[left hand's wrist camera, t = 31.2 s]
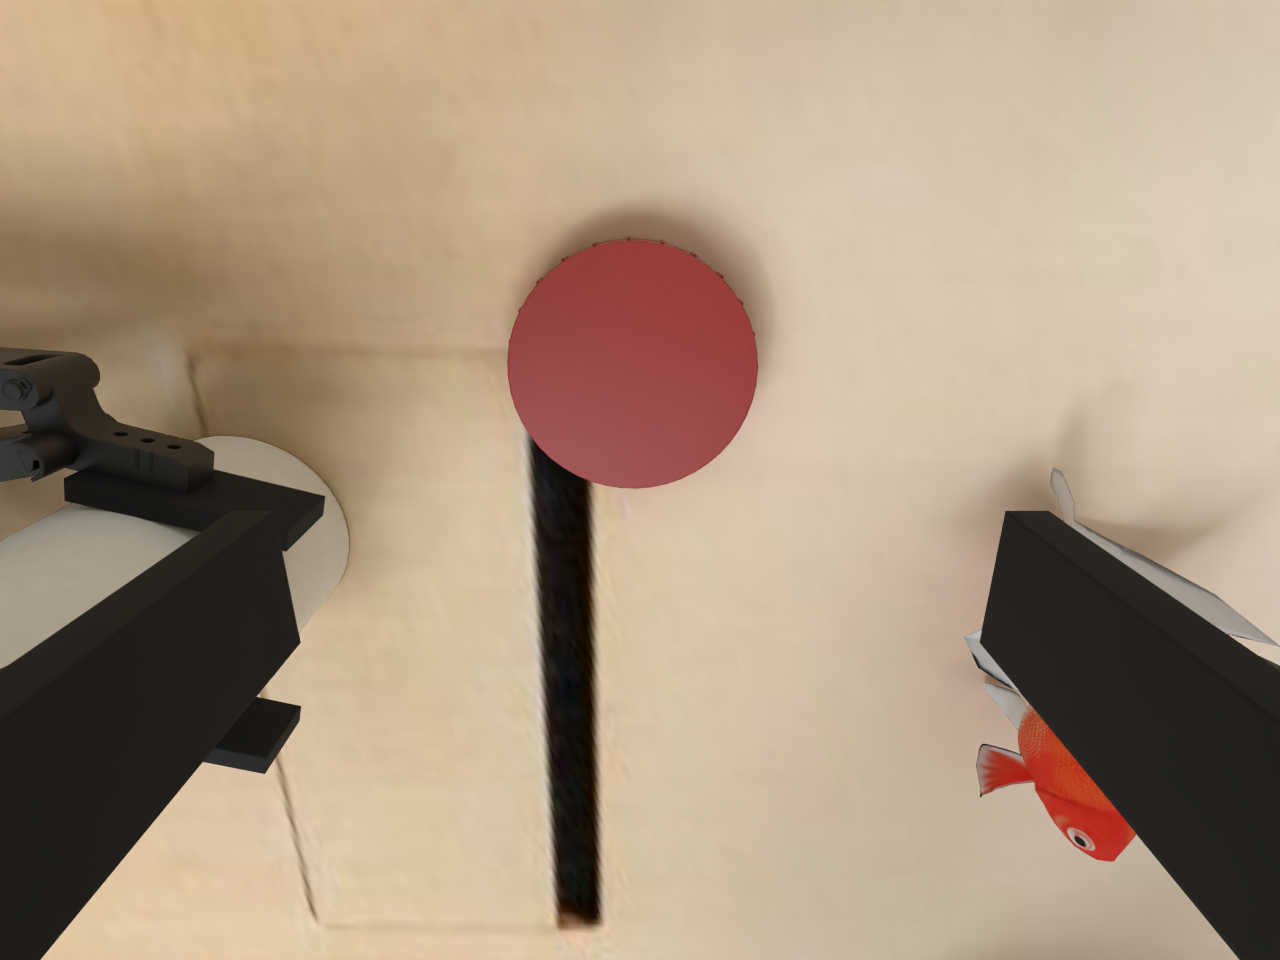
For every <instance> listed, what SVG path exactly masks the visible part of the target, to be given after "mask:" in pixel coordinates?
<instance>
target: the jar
mask: <svg viewBox="0 0 1280 960" xmlns="http://www.w3.org/2000/svg"><path fill="white" fill-rule="evenodd" d="M194 441H195V442H199V443H201V444H202V445H204V446H206V447H207V448H209V449H210V450H212V451H214V452H215V453H214V469H215V470H219V471H223V472H228V473H232V474H236V475H240V476H244V477H248V478H253V479H257V480H261V481H265V482H269V483H273V484H278V485H282V486H286V487H290V488H294V489H298V490H303V491H307V492H311V493H315V494H319V495H323V496H325V504H324V513H323V516H322V517H321V518H320V519H319V520H318V521H317V522H316V523H315V524H314V525H313V526H312V527H311V528H310V529H309V530H308V531H307V532H306V533H305V534H304V535H303V536H302V537H301V538H300V539H299V540H298V541H297V542H296V543H295V544H294V545H293V546H292V547H291V548H290V549H289V550H288V551H287V552H285V551H282V552H283V557H284V562H285V567H286V572H287V577H288V582H289V587H290V592H291V597H292V602H293V607H294V612H295V617H296V622H297V627H298V632H299V633H300V631H301V630H302V629H303V628H304V626H305V625H306V624H307V622H308V621H309V620H310V619H311V617H312V616H313V615H314V614H315V612H316V611H317V610H318V609H319V607H320V606H321V605H322V603H323V602H324V601H325V600H326V598H327V597H328V596H329V595H330V593H331V592H332V591H333V590H334V588H335V587H336V585H337V584H338V582H339V581H340V579H341V577H342V575H343V573H344V571H345V568H346V564H347V560H348V554H349V535H348V530H347V524H346V521H345V518H344V515H343V512H342V510H341V508H340V506H339V504H338V502H337V500H336V498H335V497H334V495H333V494H332V492H331V491H330V489H329V488H328V487H327V485H326V484H325V483H324V482H323V481H322V479H321V478H320V477H319V476H318V475H317V474H316V473H315V472H314V471H313V470H311V469H310V468H309V467H308V466H307V465H305V464H304V463H303V462H301V461H300V460H299V459H297V458H296V457H294V456H292V455H291V454H289V453H287V452H286V451H284V450H281V449H279V448H277V447H275V446H273V445H270V444H267V443H264V442H261V441H258V440H254V439H249V438H245V437H236V436H213V437H206V438H201V439H198V440H194ZM199 533H200V532H198V531H193V530H189V529H185V528H180V527H176V526H172V525H167V524H163V523H159V522H154V521H150V520H146V519H141V518H137V517H133V516H128V515H124V514H119V513H115V512H111V511H106V510H102V509H98V508H93V507H89V506H85V505H80V504H76V503H71V504H69V505H67V506H65V507H63V508H61V509H59V510H58V511H56V512H54V513H52V514H50V515H48V516H46V517H44V518H42V519H40V520H39V521H37V522H35V523H33V524H31V525H29V526H27V527H25V528H23V529H21V530H19V531H18V532H16V533H14V534H12V535H10V536H8V537H6V538H4V539H2V540H0V669H1V668H3V667H5V666H7V665H9V664H11V663H12V662H14V661H15V660H16V659H18V658H19V657H21V656H22V655H24V654H25V653H27V652H28V651H29V650H31V649H32V648H34V647H35V646H37V645H38V644H40V643H41V642H43V641H44V640H45V639H47V638H48V637H50V636H51V635H53V634H54V633H56V632H57V631H58V630H60V629H61V628H63V627H64V626H66V625H67V624H69V623H70V622H71V621H73V620H74V619H76V618H77V617H79V616H80V615H82V614H83V613H85V612H86V611H87V610H89V609H90V608H92V607H93V606H95V605H96V604H98V603H99V602H100V601H102V600H103V599H105V598H106V597H108V596H109V595H111V594H112V593H113V592H115V591H116V590H118V589H119V588H121V587H122V586H124V585H125V584H127V583H128V582H129V581H131V580H132V579H134V578H135V577H137V576H138V575H140V574H141V573H142V572H144V571H145V570H147V569H148V568H150V567H151V566H153V565H154V564H156V563H157V562H158V561H160V560H161V559H163V558H164V557H166V556H167V555H169V554H170V553H171V552H173V551H174V550H176V549H177V548H179V547H180V546H182V545H183V544H184V543H186V542H187V541H189V540H190V539H192V538H193V537H195V536H196V535H198V534H199ZM59 937H60V936H59Z"/></svg>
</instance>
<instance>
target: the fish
mask: <svg viewBox="0 0 1280 960" xmlns="http://www.w3.org/2000/svg"><path fill="white" fill-rule="evenodd" d="M1050 485H1051V487H1052V489H1053V491H1054V493H1055V495H1056V498H1057V500H1058V503H1059V505H1060V509H1061V512H1062V516H1063V519H1064V522H1065V523H1067V524H1068V525H1069V526H1071V527H1072V528H1074V529H1075V530H1077V531H1078V532H1080V533H1081V534H1082V535H1084V536H1085V537H1087V538H1088V539H1090V540H1091V541H1093V542H1094V543H1096V544H1097V545H1098V546H1100V547H1101V548H1103V549H1104V550H1106V551H1107V552H1109V553H1110V554H1111V555H1113V556H1114V557H1116V558H1117V559H1119V560H1120V561H1122V562H1123V563H1124V564H1126V565H1127V566H1129V567H1130V568H1132V569H1133V570H1135V571H1136V572H1138V573H1139V574H1140V575H1142V576H1143V577H1145V578H1146V579H1148V580H1149V581H1151V582H1152V583H1153V584H1155V585H1156V586H1158V587H1159V588H1161V589H1162V590H1164V591H1165V592H1166V593H1168V594H1169V595H1171V596H1172V597H1174V598H1175V599H1177V600H1178V601H1180V602H1181V603H1182V604H1184V605H1185V606H1187V607H1188V608H1190V609H1191V610H1193V611H1194V612H1195V613H1197V614H1198V615H1200V616H1201V617H1203V618H1204V619H1206V620H1207V621H1209V622H1210V623H1211V624H1213V625H1214V626H1216V627H1217V628H1219V629H1220V630H1222V631H1223V632H1224V633H1226V634H1227V635H1233V636H1237V637H1241V638H1245V639H1250V640H1254V641H1258V642H1262V643H1266V644H1271V645H1275V646H1279V645H1278V644H1277V643H1275V642H1274V641H1273V640H1272V639H1270V638H1269V637H1268V636H1267V635H1265V634H1264V633H1263V632H1262V631H1260V630H1259V629H1258V628H1257V627H1255V626H1254V625H1253V624H1251V623H1250V622H1249V621H1248V620H1246V619H1245V618H1244V617H1243V616H1241V615H1240V614H1239V613H1238V612H1236V611H1235V610H1234V609H1233V608H1231V607H1230V606H1229V605H1228V604H1226V603H1225V602H1224V601H1223V600H1221V599H1220V598H1219V597H1217V596H1216V595H1215V594H1213V593H1211V592H1209V591H1208V590H1206V589H1204V588H1202V587H1200V586H1198V585H1196V584H1195V583H1193V582H1191V581H1189V580H1187V579H1185V578H1183V577H1182V576H1180V575H1178V574H1176V573H1174V572H1172V571H1171V570H1169V569H1167V568H1165V567H1163V566H1161V565H1159V564H1158V563H1156V562H1154V561H1152V560H1150V559H1148V558H1147V557H1145V556H1143V555H1141V554H1138V553H1136V552H1134V551H1132V550H1130V549H1128V548H1126V547H1124V546H1122V545H1120V544H1118V543H1116V542H1114V541H1112V540H1110V539H1108V538H1106V537H1104V536H1102V535H1100V534H1098V533H1096V532H1095V531H1093V530H1091V529H1089V528H1088V527H1086V526H1084V525H1082V524H1081V523H1079V522H1077V521H1075V520H1074V501H1073V498H1072V495H1071V493H1070V490H1069V487H1068V485H1067V482H1066V480H1065V478H1064V476H1063V474H1062V472H1061V471H1059V470H1058V469H1056V468H1054V467H1053V470H1052V473H1051V483H1050ZM981 632H982V630H979V631H977V632H974V633H971V634H969V635H966V636H964V638H965V640H966V642H967V644H968V647H969V649H970V651H971V653H972V655H973V657H974V660H975V662H976V664H977V666H978V668H980V669H981V670H983V671H984V672H986V673H987V674H989V675H991V676H992V677H994V678H995V679H997V680H998V681H1000V682H1002V683H1003V684H1005V685H1006V686H1008V687H1009V688H1012V689H1014V690H1017V691H1019V690H1018V689H1017V688H1016V687H1015V685H1014V684H1013V683H1012V682H1011V680H1010V679H1009V678H1008V677H1007V676H1006V674H1005V673H1004V672H1003V671H1002V670H1001V668H1000V667H999V666H998V665H997V663H996V662H995V661H994V660H993V659H992V657H991V656H990V655H989V654H988V652H987V651H986V650H985V649H984V648H983V646H982V645H981V644H980V643H979V642H980V637H981ZM1279 647H1280V646H1279ZM984 689H985V690H986V692H987V693H988V694H989V695H990V697H991V698H992V699H993V700H994V701H995V702H996V703H997V704H998V705H999V706H1000V708H1001V709H1002V710H1003V712H1004V713H1005V715H1006V716H1007V718H1008V719H1009V720H1010V722H1011V723H1012V724H1013V725H1014V726H1015V727H1016V728H1017V729H1018V745H1019V750H1020V753H1021V754H1018V753H1015V752H1013V751H1010V750H1007V749H1003V748H999V747H996V746H992V745H988V744H982V745H981V746H980V749H979V754H978V759H977V765H976V767H977V773H978V778H979V783H980V797H981V796H982V795H984V794H987V793H990V792H992V791H993V790H995V789H998V788H1002V787H1005V786H1008V785H1011V784H1020V783H1029V782H1034V783H1035V790H1036V792H1037V794H1038V796H1039V797H1040V799H1041V800H1042V802H1043V804H1044V806H1045V807H1046V809H1047V811H1048V813H1049V815H1050V816H1051V818H1052V819H1053V821H1054V823H1055V824H1056V825H1057V827H1058V828H1059V829H1060V831H1061V832H1062V833H1063V835H1064V836H1065V837H1066V838H1067V839H1068V840H1069V841H1070V842H1071V843H1072V844H1073V845H1074V846H1076V847H1077V848H1078V849H1080V850H1081V851H1083V852H1085V853H1086V854H1088V855H1090V856H1091V857H1093V858H1095V859H1097V860H1103V861H1115V859H1116V858H1117V856H1118V855H1119V854H1120V853H1121V852H1122V851H1123V850H1124V849H1125V848H1126V846H1127V845H1128V844H1129V843H1130V842H1131V840H1132V839H1133V838H1134V837H1135V835H1136V833H1135V832H1134V830H1133V829H1132V828H1131V827H1130V825H1129V824H1128V823H1127V822H1126V821H1125V819H1124V818H1123V817H1122V816H1121V815H1120V813H1119V812H1118V811H1117V810H1116V808H1115V807H1114V806H1113V805H1112V804H1111V802H1110V801H1109V800H1108V799H1107V797H1106V796H1105V795H1104V794H1103V793H1102V791H1101V790H1100V789H1099V788H1098V786H1097V785H1096V784H1095V783H1094V782H1093V780H1092V779H1091V778H1090V777H1089V776H1088V774H1087V773H1086V772H1085V771H1084V769H1083V768H1082V767H1081V766H1080V765H1079V763H1078V762H1077V761H1076V760H1075V758H1074V757H1073V756H1072V755H1071V754H1070V752H1069V751H1068V750H1067V749H1066V748H1065V746H1064V745H1063V744H1062V743H1061V741H1060V740H1059V739H1058V738H1057V737H1056V735H1055V734H1054V733H1053V732H1052V730H1051V729H1050V728H1049V727H1048V726H1047V724H1046V723H1045V722H1044V721H1043V719H1042V718H1041V717H1040V716H1039V715H1038V713H1037V712H1036V711H1035V710H1034V709H1033V707H1032V706H1031V705H1030V706H1029V707H1028V708H1027V706H1026V704H1025V702H1024V700H1023V699H1022V698H1021V696H1020V695H1019V694H1017V693H1016V692H1014V691H1012V690H1009V689H1006V688H1003V687H999V686H996V685H993V684H989V683H985V684H984Z"/></svg>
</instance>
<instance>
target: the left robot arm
mask: <svg viewBox="0 0 1280 960" xmlns="http://www.w3.org/2000/svg"><path fill="white" fill-rule="evenodd" d="M300 643H301V642H300V637H299V632H298V627H297V622H296V617H295V612H294V607H293V602H292V597H291V592H290V587H289V582H288V577H287V572H286V567H285V562H284V557H283V552H282V547H281V542H280V537H279V532H278V527H277V522H276V517H275V512H274V511H231V512H229V513H228V514H226V515H225V516H224V517H222V518H221V519H219V520H218V521H216V522H215V523H213V524H212V525H211V526H209V527H208V528H206V529H205V530H203V531H202V532H200V533H199V534H198V535H196V536H195V537H193V538H192V539H190V540H189V541H187V542H186V543H184V544H183V545H182V546H180V547H179V548H177V549H176V550H174V551H173V552H171V553H170V554H169V555H167V556H166V557H164V558H163V559H161V560H160V561H158V562H157V563H156V564H154V565H153V566H151V567H150V568H148V569H147V570H145V571H144V572H142V573H141V574H140V575H138V576H137V577H135V578H134V579H132V580H131V581H129V582H128V583H127V584H125V585H124V586H122V587H121V588H119V589H118V590H116V591H115V592H113V593H112V594H111V595H109V596H108V597H106V598H105V599H103V600H102V601H100V602H99V603H98V604H96V605H95V606H93V607H92V608H90V609H89V610H87V611H86V612H85V613H83V614H82V615H80V616H79V617H77V618H76V619H74V620H73V621H71V622H70V623H69V624H67V625H66V626H64V627H63V628H61V629H60V630H58V631H57V632H56V633H54V634H53V635H51V636H50V637H48V638H47V639H45V640H44V641H43V642H41V643H40V644H38V645H37V646H35V647H34V648H32V649H31V650H29V651H28V652H27V653H25V654H24V655H22V656H21V657H19V658H18V659H16V660H15V661H14V662H12V663H11V664H9V665H7V666H5V667H3V668H1V669H0V960H41V958H42V957H43V956H44V955H45V953H46V952H47V951H48V950H49V949H50V947H51V946H52V945H53V944H54V942H55V941H56V940H57V939H58V938H59V936H60V935H61V934H62V933H63V931H64V930H65V929H66V928H67V927H68V925H69V924H70V923H71V922H72V921H73V919H74V918H75V917H76V916H77V914H78V913H79V912H80V911H81V910H82V908H83V907H84V906H85V905H86V903H87V902H88V901H89V900H90V899H91V897H92V896H93V895H94V894H95V892H96V891H97V890H98V889H99V888H100V886H101V885H102V884H103V883H104V882H105V880H106V879H107V878H108V877H109V875H110V874H111V873H112V872H113V871H114V869H115V868H116V867H117V866H118V864H119V863H120V862H121V861H122V860H123V858H124V857H125V856H126V855H127V854H128V852H129V851H130V850H131V849H132V847H133V846H134V845H135V844H136V843H137V841H138V840H139V839H140V838H141V836H142V835H143V834H144V833H145V832H146V830H147V829H148V828H149V827H150V825H151V824H152V823H153V822H154V821H155V819H156V818H157V817H158V816H159V815H160V813H161V812H162V811H163V810H164V808H165V807H166V806H167V805H168V804H169V802H170V801H171V800H172V799H173V797H174V796H175V795H176V794H177V793H178V791H179V790H180V789H181V788H182V786H183V785H184V784H185V783H186V782H187V780H188V779H189V778H190V777H191V776H192V774H193V773H194V772H195V771H196V769H197V768H198V767H199V766H200V765H201V763H202V762H203V761H204V760H205V758H206V757H207V756H208V755H209V754H210V752H211V751H212V750H213V749H214V748H215V746H216V745H217V744H218V743H219V741H220V740H221V739H222V738H223V737H224V735H225V734H226V733H227V732H228V730H229V729H230V728H231V727H232V726H233V724H234V723H235V722H236V721H237V719H238V718H239V717H240V716H241V715H242V713H243V712H244V711H245V710H246V709H247V707H248V706H249V705H250V704H251V702H252V701H253V700H254V699H255V698H256V696H257V695H258V694H259V693H260V691H261V690H262V689H263V688H264V687H265V685H266V684H267V683H268V682H269V680H270V679H271V678H272V677H273V676H274V674H275V673H276V672H277V671H278V670H279V668H280V667H281V666H282V665H283V663H284V662H285V661H286V660H287V659H288V657H289V656H290V655H291V654H292V652H293V651H294V650H295V649H296V648H297V646H298V645H299V644H300ZM979 643H980V644H981V645H982V646H983V648H984V649H985V650H986V651H987V652H988V654H989V655H990V656H991V657H992V659H993V660H994V661H995V662H996V663H997V665H998V666H999V667H1000V668H1001V670H1002V671H1003V672H1004V673H1005V674H1006V676H1007V677H1008V678H1009V679H1010V680H1011V682H1012V683H1013V684H1014V685H1015V687H1016V688H1017V689H1018V690H1019V691H1020V693H1021V694H1022V695H1023V696H1024V698H1025V699H1026V700H1027V701H1028V702H1029V704H1030V705H1031V706H1032V707H1033V709H1034V710H1035V711H1036V712H1037V713H1038V715H1039V716H1040V717H1041V718H1042V719H1043V721H1044V722H1045V723H1046V724H1047V726H1048V727H1049V728H1050V729H1051V730H1052V732H1053V733H1054V734H1055V735H1056V737H1057V738H1058V739H1059V740H1060V741H1061V743H1062V744H1063V745H1064V746H1065V748H1066V749H1067V750H1068V751H1069V752H1070V754H1071V755H1072V756H1073V757H1074V758H1075V760H1076V761H1077V762H1078V763H1079V765H1080V766H1081V767H1082V768H1083V769H1084V771H1085V772H1086V773H1087V774H1088V776H1089V777H1090V778H1091V779H1092V780H1093V782H1094V783H1095V784H1096V785H1097V786H1098V788H1099V789H1100V790H1101V791H1102V793H1103V794H1104V795H1105V796H1106V797H1107V799H1108V800H1109V801H1110V802H1111V804H1112V805H1113V806H1114V807H1115V808H1116V810H1117V811H1118V812H1119V813H1120V815H1121V816H1122V817H1123V818H1124V819H1125V821H1126V822H1127V823H1128V824H1129V825H1130V827H1131V828H1132V829H1133V830H1134V832H1135V833H1136V834H1137V835H1138V836H1139V838H1140V839H1141V840H1142V841H1143V843H1144V844H1145V845H1146V846H1147V847H1148V849H1149V850H1150V851H1151V852H1152V854H1153V855H1154V856H1155V857H1156V858H1157V860H1158V861H1159V862H1160V863H1161V864H1162V866H1163V867H1164V868H1165V869H1166V871H1167V872H1168V873H1169V874H1170V875H1171V877H1172V878H1173V879H1174V880H1175V882H1176V883H1177V884H1178V885H1179V886H1180V888H1181V889H1182V890H1183V891H1184V892H1185V894H1186V895H1187V896H1188V897H1189V899H1190V900H1191V901H1192V902H1193V903H1194V905H1195V906H1196V907H1197V908H1198V910H1199V911H1200V912H1201V913H1202V914H1203V916H1204V917H1205V918H1206V919H1207V921H1208V922H1209V923H1210V924H1211V925H1212V927H1213V928H1214V929H1215V930H1216V931H1217V933H1218V934H1219V935H1220V936H1221V938H1222V939H1223V940H1224V941H1225V942H1226V944H1227V945H1228V946H1229V947H1230V949H1231V950H1232V951H1233V952H1234V953H1235V955H1236V956H1237V957H1238V958H1239V960H1280V666H1279V665H1277V664H1275V663H1273V662H1271V661H1269V660H1266V659H1264V658H1262V657H1260V656H1258V655H1256V654H1255V653H1253V652H1252V651H1251V650H1249V649H1248V648H1246V647H1245V646H1243V645H1242V644H1240V643H1239V642H1237V641H1236V640H1235V639H1233V638H1232V637H1230V636H1229V635H1227V634H1226V633H1224V632H1223V631H1222V630H1220V629H1219V628H1217V627H1216V626H1214V625H1213V624H1211V623H1210V622H1209V621H1207V620H1206V619H1204V618H1203V617H1201V616H1200V615H1198V614H1197V613H1195V612H1194V611H1193V610H1191V609H1190V608H1188V607H1187V606H1185V605H1184V604H1182V603H1181V602H1180V601H1178V600H1177V599H1175V598H1174V597H1172V596H1171V595H1169V594H1168V593H1166V592H1165V591H1164V590H1162V589H1161V588H1159V587H1158V586H1156V585H1155V584H1153V583H1152V582H1151V581H1149V580H1148V579H1146V578H1145V577H1143V576H1142V575H1140V574H1139V573H1138V572H1136V571H1135V570H1133V569H1132V568H1130V567H1129V566H1127V565H1126V564H1124V563H1123V562H1122V561H1120V560H1119V559H1117V558H1116V557H1114V556H1113V555H1111V554H1110V553H1109V552H1107V551H1106V550H1104V549H1103V548H1101V547H1100V546H1098V545H1097V544H1096V543H1094V542H1093V541H1091V540H1090V539H1088V538H1087V537H1085V536H1084V535H1082V534H1081V533H1080V532H1078V531H1077V530H1075V529H1074V528H1072V527H1071V526H1069V525H1068V524H1067V523H1065V522H1064V521H1062V520H1061V519H1059V518H1058V517H1056V516H1055V515H1054V514H1052V513H1051V512H1049V511H1006V512H1005V517H1004V522H1003V527H1002V532H1001V537H1000V542H999V547H998V552H997V557H996V562H995V567H994V572H993V577H992V582H991V587H990V592H989V597H988V602H987V607H986V612H985V617H984V622H983V627H982V632H981V637H980V642H979Z"/></svg>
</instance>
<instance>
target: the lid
mask: <svg viewBox="0 0 1280 960" xmlns="http://www.w3.org/2000/svg"><path fill="white" fill-rule="evenodd" d="M696 256H697V255H695V254H694V253H693V252H691V253H690V254H689V253H687V252H685V251H683V250H681V249H679V248H677V247H674V246H671V245H668V244H665V242H664V241H663V240H660V242H657V241H651V240H646V239H630V236H627V239H621V240H612V241H608V242H604V243H600V244H598V242H595V243H594V244H593V246H591V247H589V248H586V249H583V250H581V251H579V252H578V253H576V254H574V255H572V256H571V257H569V258H568V256H566V257H564V258H563V259H562V263H561V264H559V265H558V266H557V267H555V268H554V269H553V270H551V271H550V272H549V273H548V274H547V275H546V276H545V277H544V278H543V277H542V278H541V279H539V280H538V281H537V282H536V283H537V285H536V287H535V288H534V289H533V291H532V292H531V293H530V295H529V296H528V297H527V299H526V301H525V302H524V304H523V306H522V307H521V308H520V309H519V310H518V312H519V314H518V316H517V319H516V321H515V324H514V327H513V330H512V334H511V338H510V340H509V350H508V379H509V385H510V391H511V395H512V398H513V402H514V405H515V408H516V410H517V412H518V415H519V417H520V419H521V421H522V423H523V425H524V426H525V428H526V430H527V431H528V433H529V434H530V436H531V437H532V438H533V440H534V441H535V442H536V443H537V445H538V446H539V447H540V448H541V449H542V450H543V451H544V452H545V453H546V454H547V455H548V456H549V457H550V458H551V459H552V460H554V461H555V462H557V463H558V464H559V465H561V466H562V467H563V468H565V469H567V470H568V471H570V472H572V473H574V474H575V475H577V476H579V477H582V478H584V479H587V480H589V481H592V482H595V483H599V484H602V485H606V486H612V487H619V488H647V487H654V486H659V485H664V484H668V483H671V482H674V481H676V480H679V479H682V478H684V477H686V476H688V475H690V474H692V473H694V472H696V471H698V470H699V469H701V468H702V467H704V466H705V465H707V464H708V463H709V462H711V461H712V460H713V459H714V458H715V457H716V456H718V455H719V454H720V453H721V452H722V451H723V450H724V449H725V447H726V446H727V445H728V444H729V443H730V442H731V441H732V439H733V438H734V436H735V435H736V434H737V432H738V431H739V429H740V427H741V426H742V424H743V422H744V420H745V418H746V416H747V414H748V411H749V408H750V406H751V403H752V400H753V396H754V392H755V388H756V381H757V371H758V364H757V349H756V343H755V337H754V336H755V333H754V332H753V331H752V327H751V324H750V321H749V319H748V317H747V314H746V312H745V310H744V308H743V306H742V305H743V303H742V301H741V300H739V299H738V298H737V296H736V295H735V293H734V292H733V291H732V289H731V288H730V287H729V286H728V285H727V284H726V282H725V281H724V280H723V279H722V278H723V276H722V275H721V274H720V273H719V272H717V273H715V272H714V271H713V270H712V269H711V268H710V267H709V266H707V265H706V264H705V263H703V262H702V261H700V260H699V259H697V258H696Z"/></svg>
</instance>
